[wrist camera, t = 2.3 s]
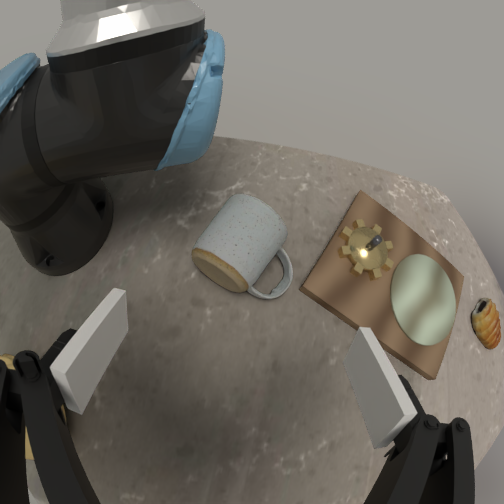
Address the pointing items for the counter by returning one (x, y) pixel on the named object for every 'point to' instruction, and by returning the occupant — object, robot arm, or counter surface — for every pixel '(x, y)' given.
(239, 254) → the ceramic mug
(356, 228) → the gear
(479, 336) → the pastry
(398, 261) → the gear board
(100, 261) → the counter surface
